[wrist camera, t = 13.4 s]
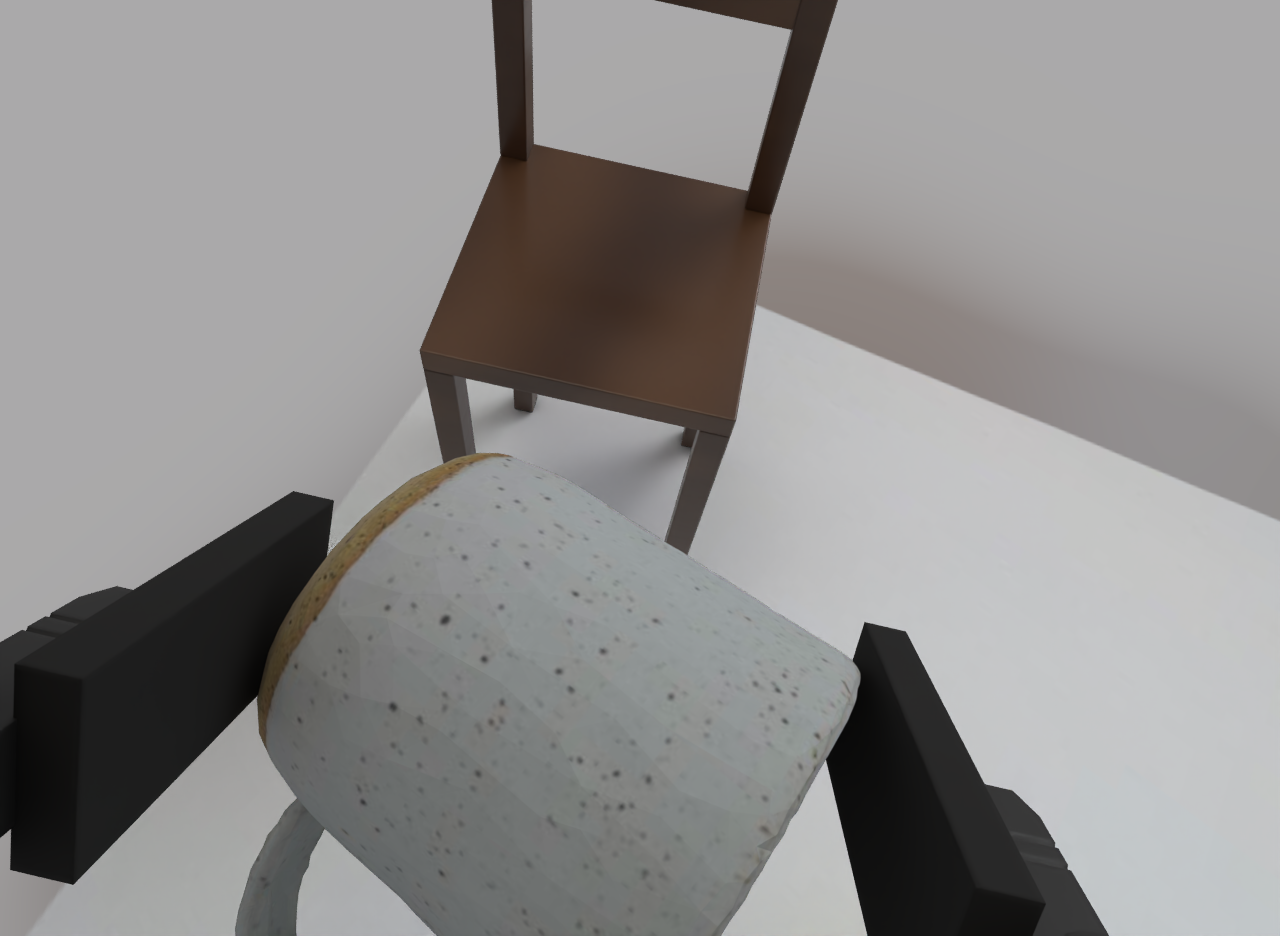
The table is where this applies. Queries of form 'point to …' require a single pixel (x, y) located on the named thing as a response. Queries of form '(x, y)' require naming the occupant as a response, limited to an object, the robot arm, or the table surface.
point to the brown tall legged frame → (615, 268)
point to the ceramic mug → (536, 716)
